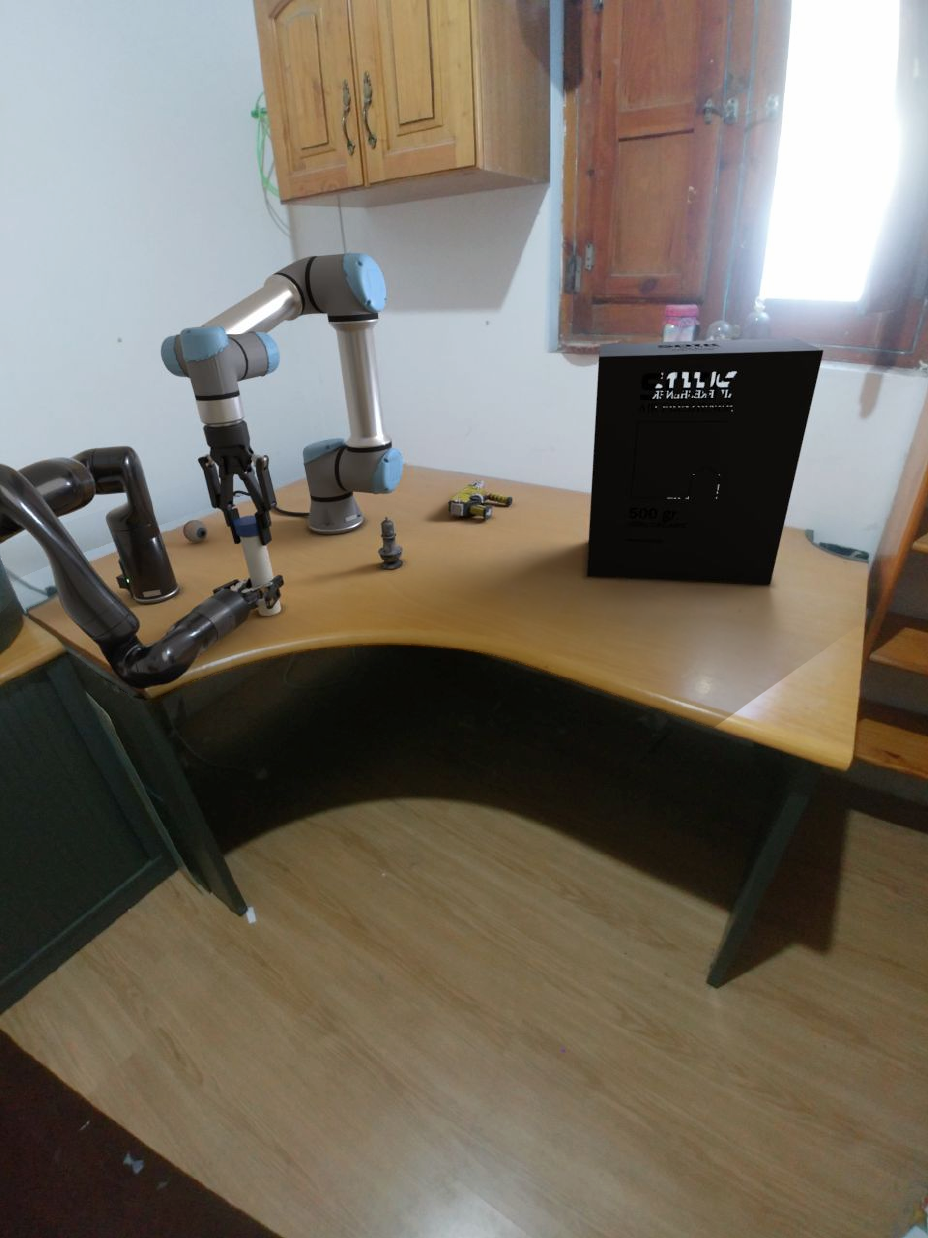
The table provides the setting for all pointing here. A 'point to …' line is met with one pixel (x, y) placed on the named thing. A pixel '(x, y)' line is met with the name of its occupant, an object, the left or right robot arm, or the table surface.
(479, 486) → the toy gun
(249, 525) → the lid
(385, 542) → the grey tall stepped piece
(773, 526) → the cardboard box
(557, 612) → the table surface
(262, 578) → the jar
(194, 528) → the eyeball
